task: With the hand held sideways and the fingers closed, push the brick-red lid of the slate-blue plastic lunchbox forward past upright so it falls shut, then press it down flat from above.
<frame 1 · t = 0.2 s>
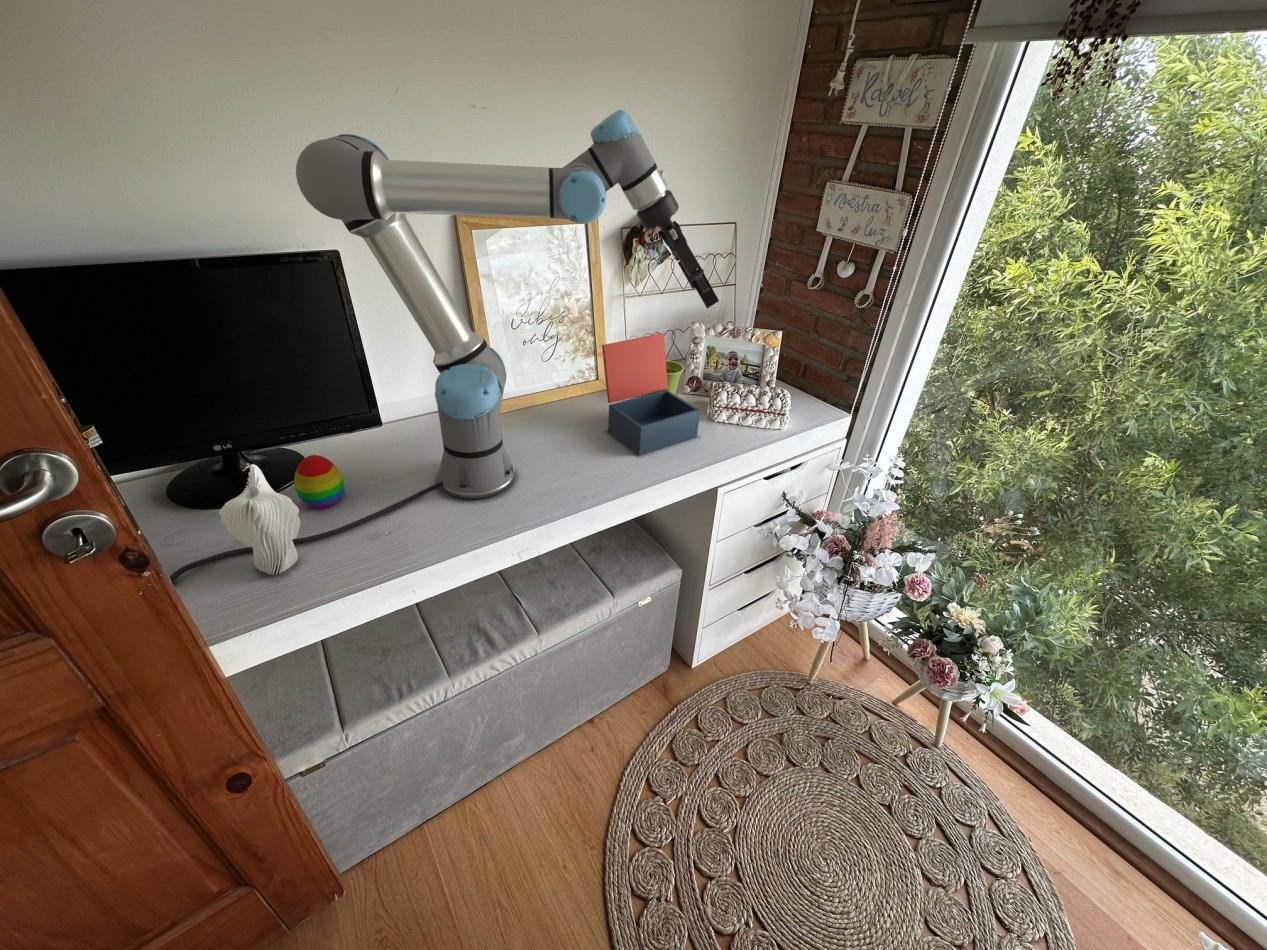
hand: (705, 294, 119), 36 cm above the table, tool tilted 35°, fingers open, 13 cm apart
lid: (636, 367, 140), point 14 cm above the table, hinge at 104.0°
decorative egg: (324, 501, 113), on the table
plant pot: (663, 396, 161), on the table
lunchbox: (652, 434, 142), on the table
shell sculpture: (281, 567, 97), on the table
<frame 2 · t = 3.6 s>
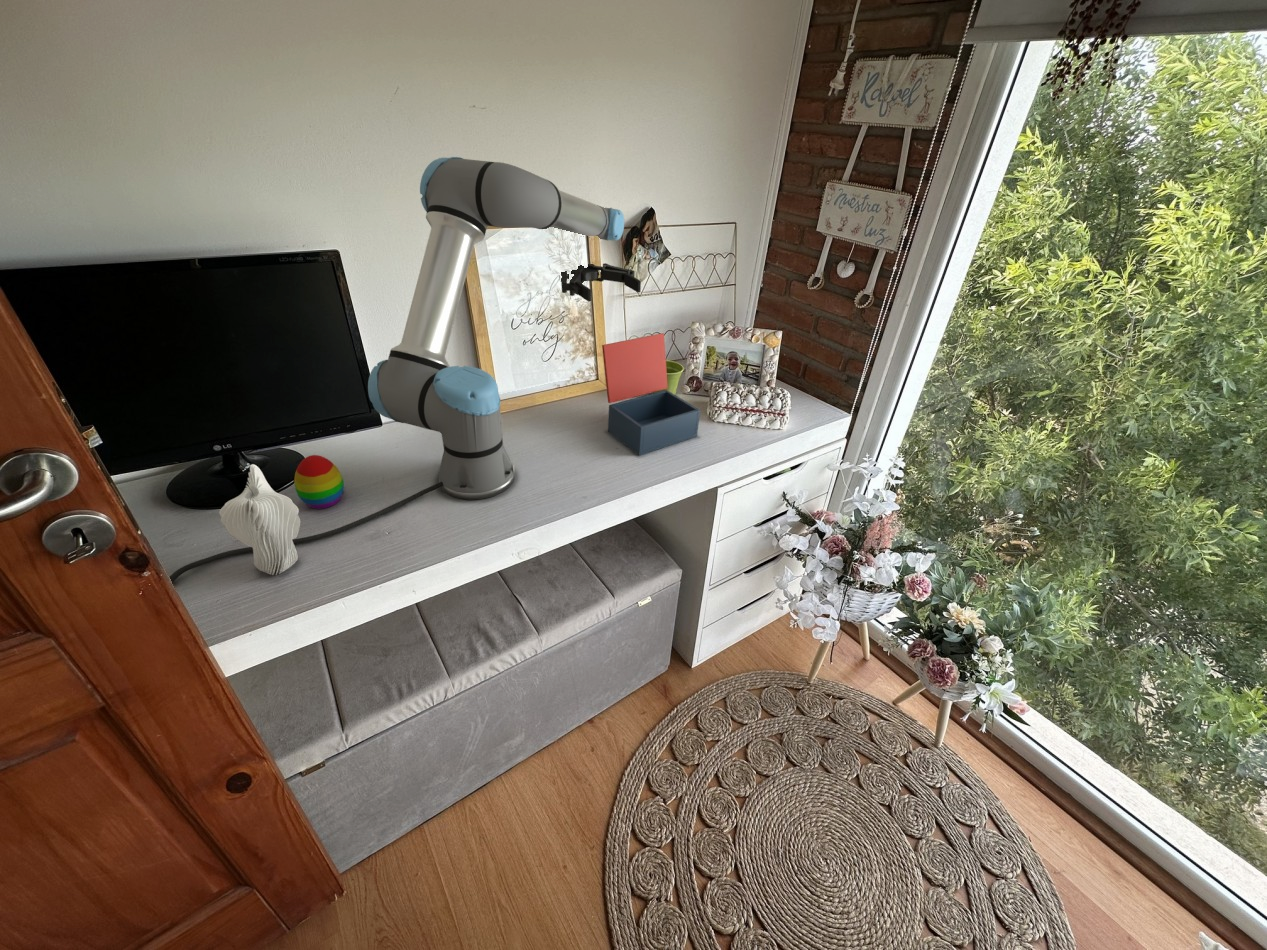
hand: (615, 291, 137), 30 cm above the table, tool horizontal, fingers open, 13 cm apart
nothing on the table moved.
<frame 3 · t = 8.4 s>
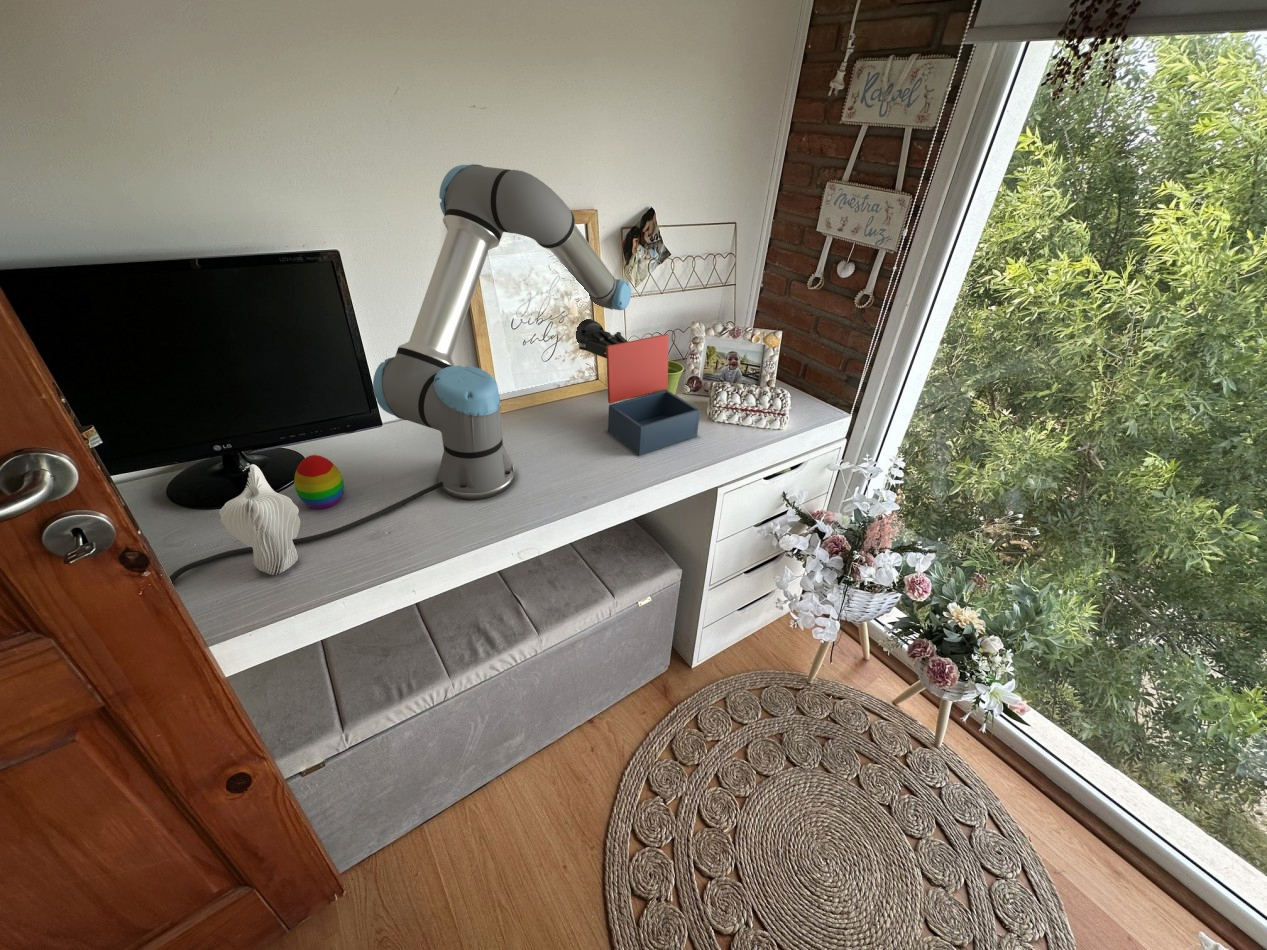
hand: (636, 361, 139), 16 cm above the table, tool horizontal, fingers closed
lid: (638, 368, 139), point 15 cm above the table, hinge at 96.4°, touching gripper
everything else where it was.
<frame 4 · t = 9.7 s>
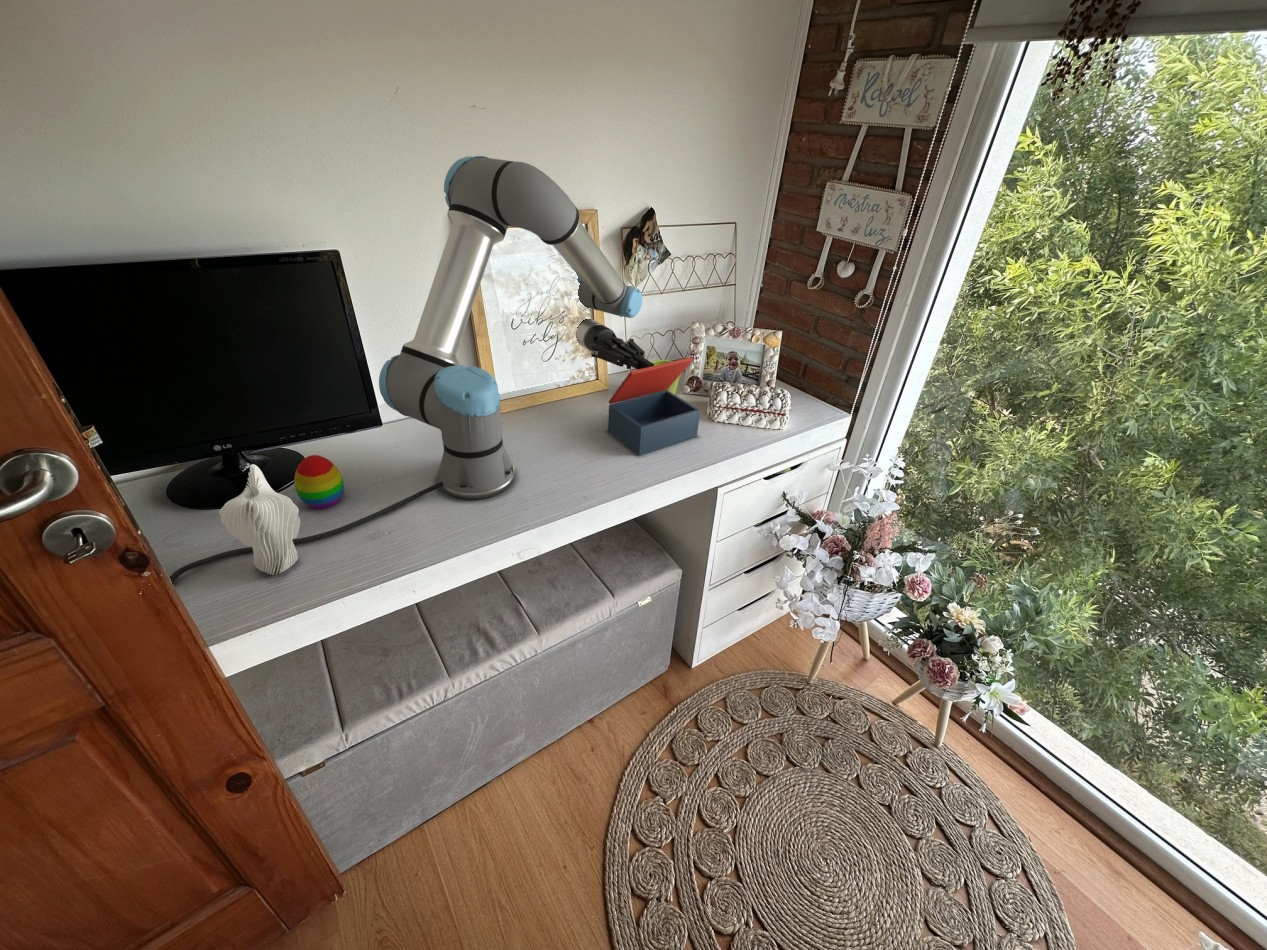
hand: (651, 369, 135), 16 cm above the table, tool horizontal, fingers closed
lid: (650, 380, 137), point 13 cm above the table, hinge at 52.8°
everything else where it was.
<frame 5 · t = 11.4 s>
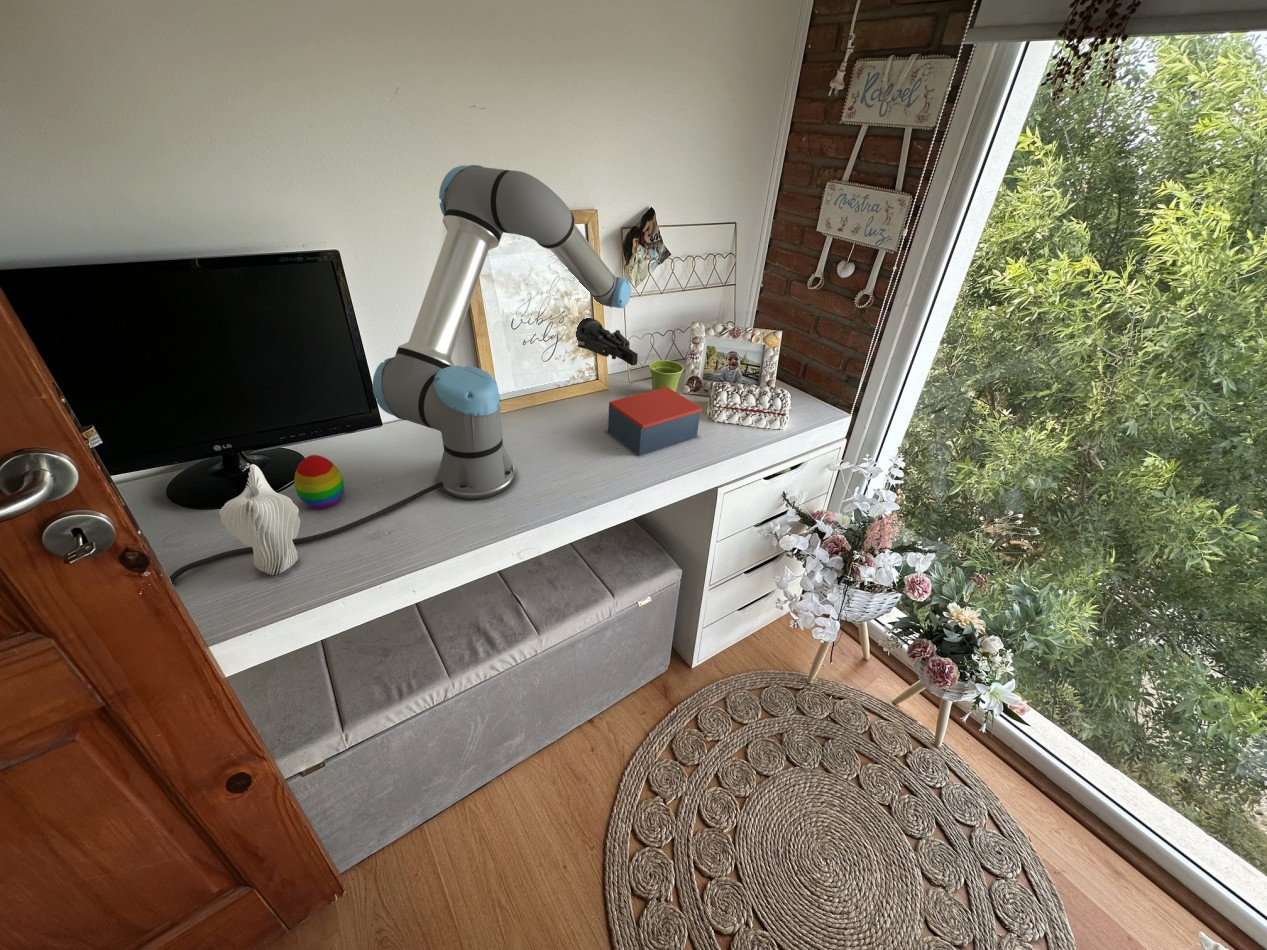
hand: (634, 359, 139), 16 cm above the table, tool horizontal, fingers closed
lid: (655, 406, 138), point 8 cm above the table, hinge at -0.2°
everything else where it was.
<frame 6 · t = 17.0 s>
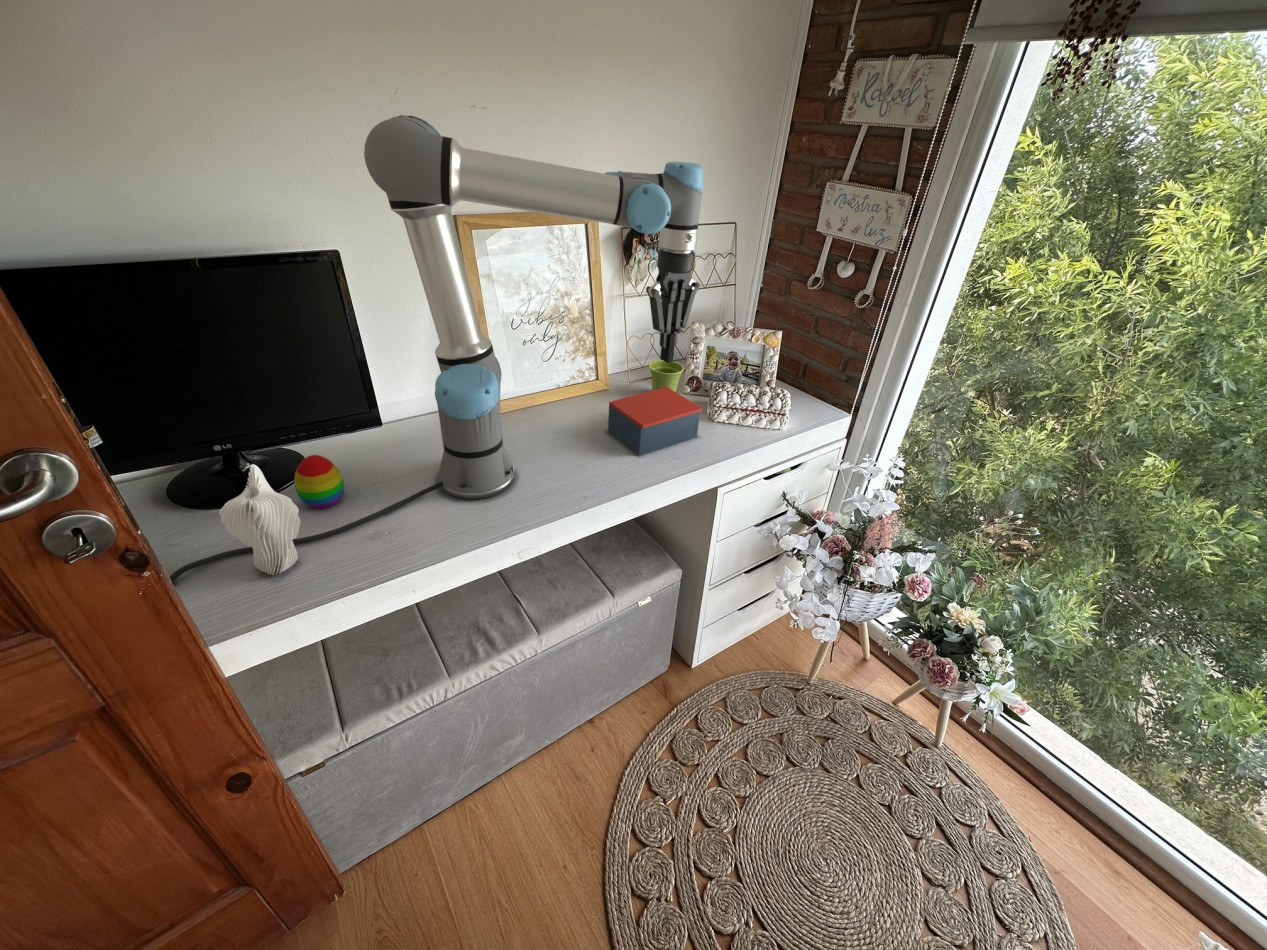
hand: (666, 360, 129), 20 cm above the table, tool pointing down, fingers closed
nothing on the table moved.
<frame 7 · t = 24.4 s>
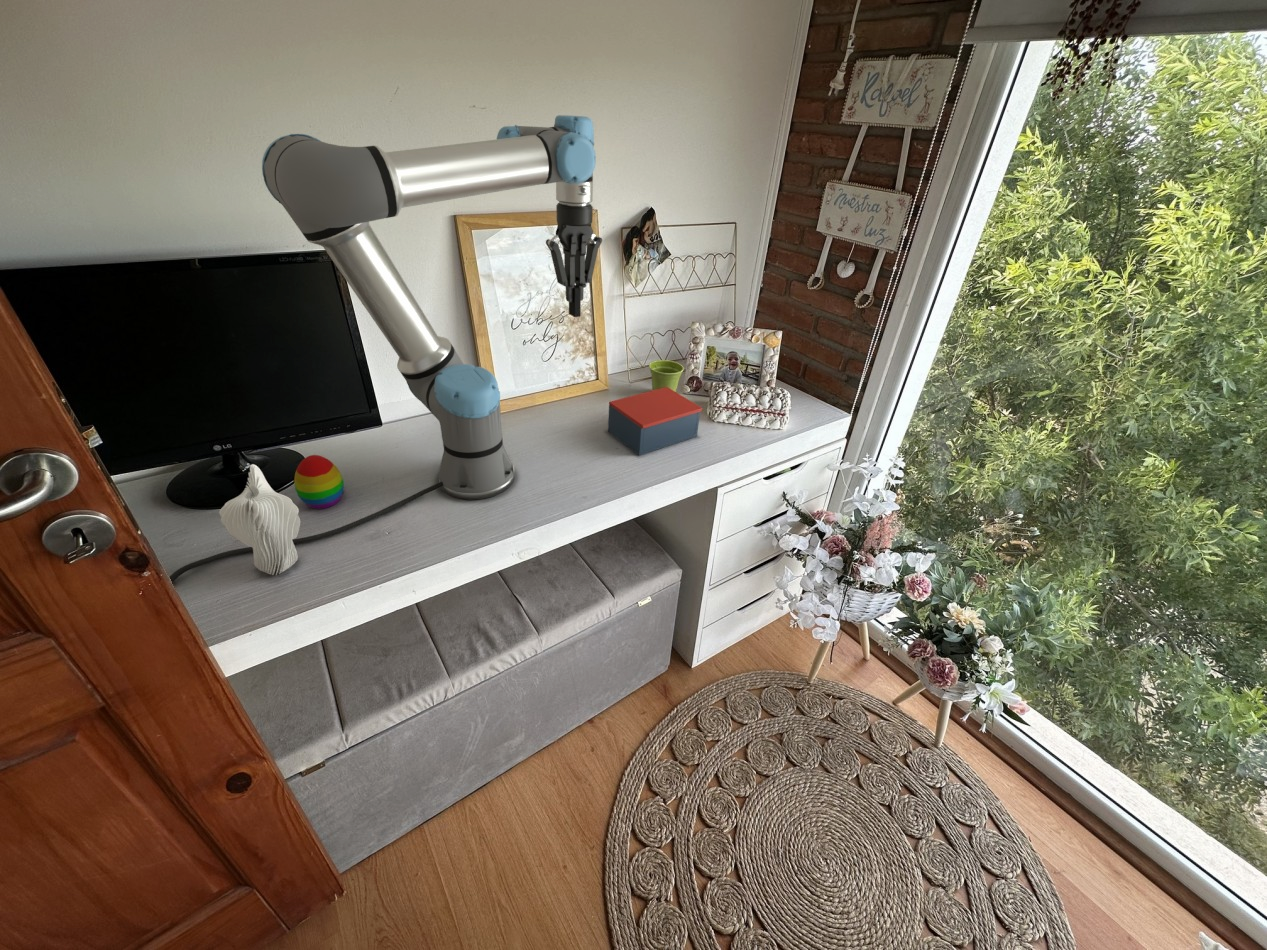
hand: (574, 315, 133), 26 cm above the table, tool pointing down, fingers closed
nothing on the table moved.
at the end: lid at +0° (first picture: +104°); plant pot moved 0.2 cm from its start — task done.
